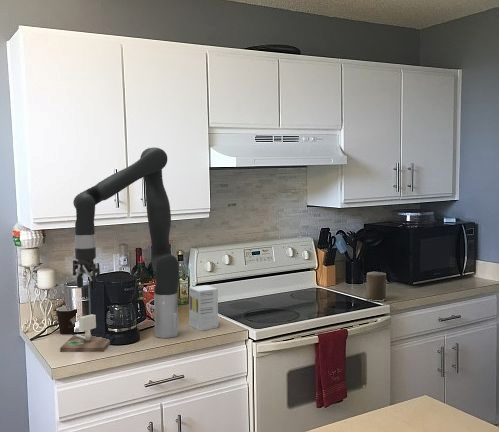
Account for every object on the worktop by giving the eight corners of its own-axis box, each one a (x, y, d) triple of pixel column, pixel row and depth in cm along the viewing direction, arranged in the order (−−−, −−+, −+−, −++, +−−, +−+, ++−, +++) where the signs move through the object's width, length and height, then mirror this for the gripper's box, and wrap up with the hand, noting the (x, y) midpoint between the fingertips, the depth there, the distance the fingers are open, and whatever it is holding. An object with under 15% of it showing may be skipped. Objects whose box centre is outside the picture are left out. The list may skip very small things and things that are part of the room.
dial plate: (114, 338, 229) (114, 334, 229) (103, 351, 213) (103, 347, 213) (73, 338, 229) (73, 334, 229) (60, 351, 213) (60, 347, 213)
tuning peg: (96, 339, 223) (95, 315, 222) (82, 342, 218) (81, 318, 217) (83, 334, 228) (82, 311, 227) (70, 338, 224) (69, 314, 223)
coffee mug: (61, 336, 232) (60, 312, 232) (54, 331, 239) (53, 307, 239) (89, 331, 239) (88, 307, 238) (81, 326, 246) (81, 303, 245)
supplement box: (188, 325, 247) (188, 286, 246) (207, 322, 252) (207, 284, 251) (199, 331, 239) (198, 290, 238) (218, 327, 244) (218, 288, 243)
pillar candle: (381, 303, 286) (382, 273, 285) (363, 300, 291) (363, 271, 290) (388, 299, 294) (389, 270, 293) (369, 297, 299) (370, 268, 298)
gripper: (105, 247, 216) (106, 289, 218) (83, 243, 225) (84, 284, 227) (87, 249, 210) (89, 293, 212) (65, 245, 220) (67, 287, 221)
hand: (86, 288), depth 219 cm, fingers open, 8 cm apart
